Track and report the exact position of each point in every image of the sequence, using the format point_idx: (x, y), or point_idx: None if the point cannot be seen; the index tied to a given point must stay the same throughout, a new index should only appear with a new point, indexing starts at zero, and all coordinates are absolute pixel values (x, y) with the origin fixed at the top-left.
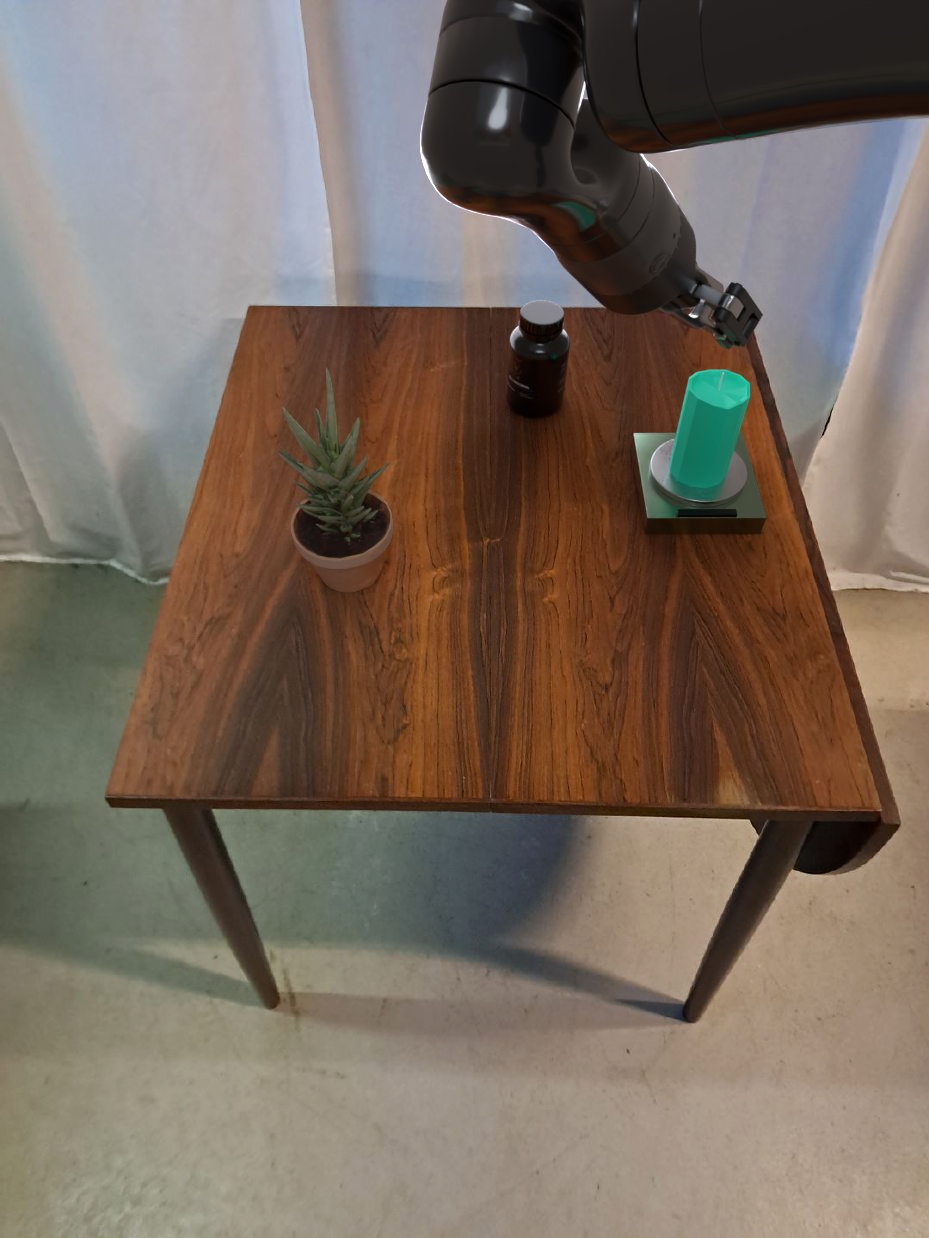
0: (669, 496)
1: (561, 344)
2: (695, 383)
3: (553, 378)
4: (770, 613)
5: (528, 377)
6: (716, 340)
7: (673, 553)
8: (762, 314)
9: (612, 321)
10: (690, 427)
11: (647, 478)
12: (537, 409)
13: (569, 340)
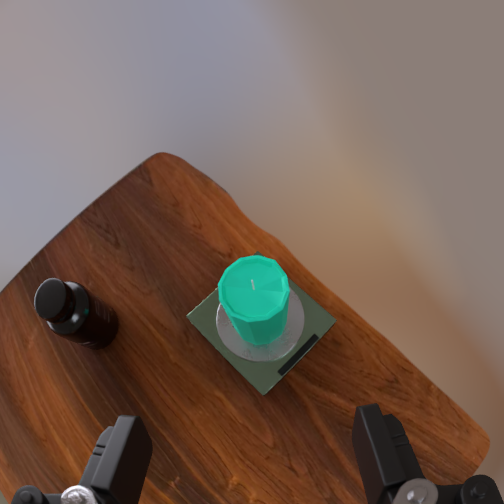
0: (261, 362)
1: (82, 304)
2: (227, 296)
3: (98, 324)
4: (388, 385)
5: (82, 340)
6: (361, 474)
7: (296, 395)
8: (494, 483)
9: (101, 210)
10: (251, 331)
11: (231, 356)
12: (106, 342)
13: (84, 290)
